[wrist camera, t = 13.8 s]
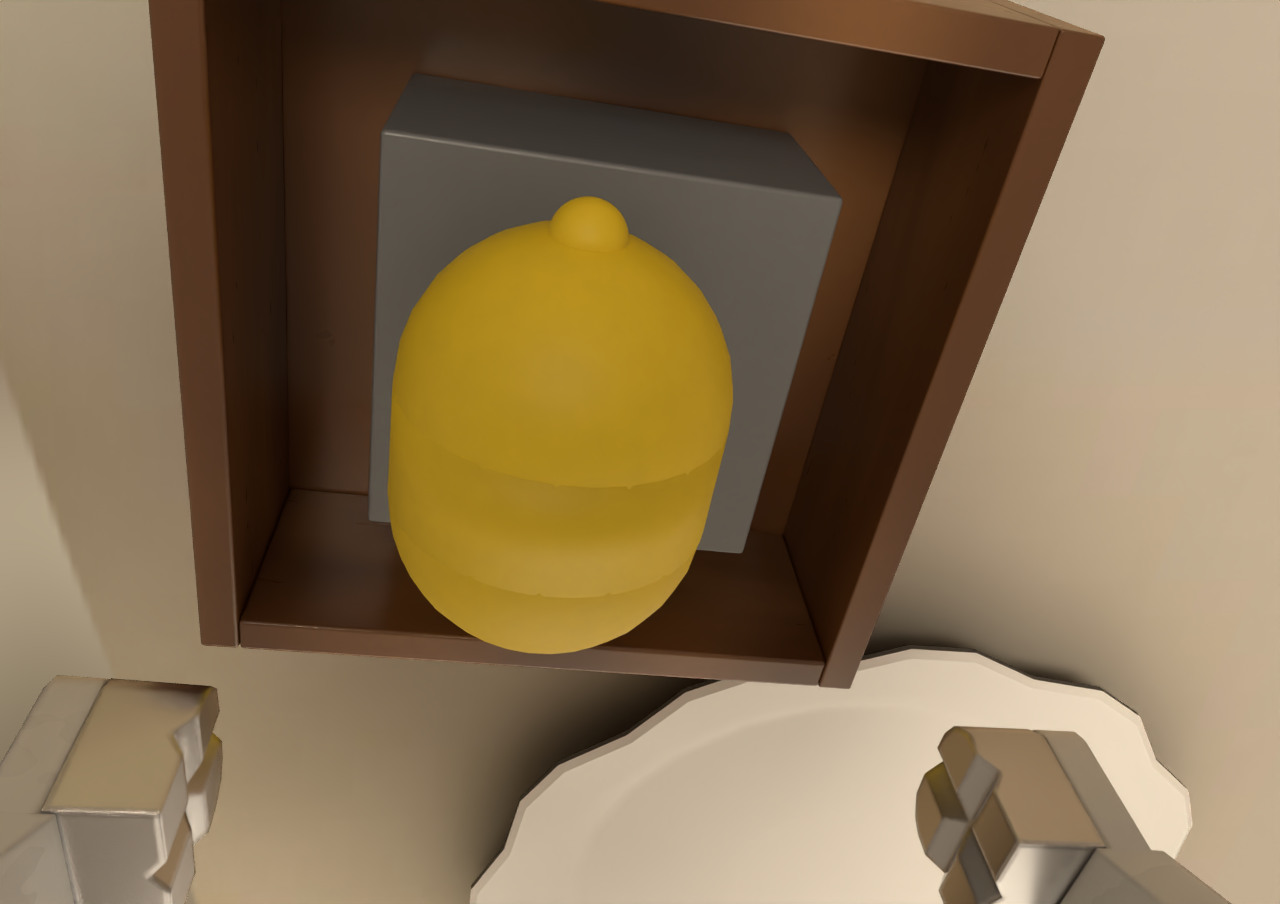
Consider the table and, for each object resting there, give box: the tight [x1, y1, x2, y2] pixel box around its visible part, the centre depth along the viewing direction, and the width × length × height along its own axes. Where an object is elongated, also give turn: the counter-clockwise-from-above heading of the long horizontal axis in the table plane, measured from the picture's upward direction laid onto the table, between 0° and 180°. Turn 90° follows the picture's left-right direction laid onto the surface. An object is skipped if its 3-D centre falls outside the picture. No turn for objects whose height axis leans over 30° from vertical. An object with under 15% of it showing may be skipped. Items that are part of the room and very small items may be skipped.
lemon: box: [388, 196, 733, 654], centre depth 16 cm, size 8×5×5 cm, turn 170°
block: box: [368, 73, 843, 553], centre depth 21 cm, size 8×8×4 cm
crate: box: [148, 0, 1105, 689], centre depth 21 cm, size 15×15×6 cm
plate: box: [469, 645, 1192, 904], centre depth 35 cm, size 25×25×2 cm
